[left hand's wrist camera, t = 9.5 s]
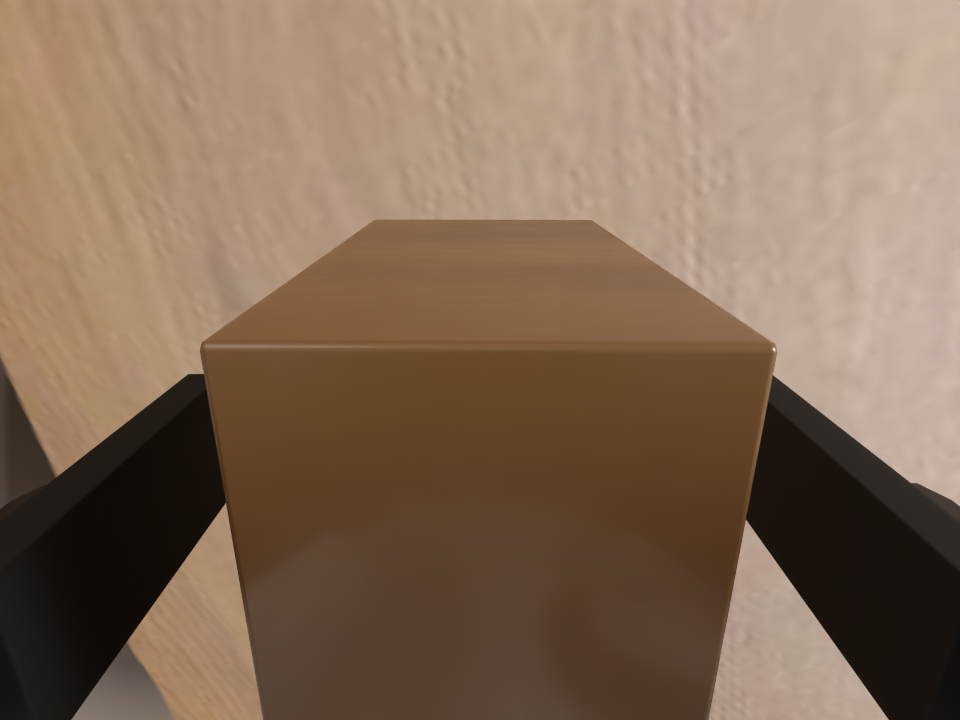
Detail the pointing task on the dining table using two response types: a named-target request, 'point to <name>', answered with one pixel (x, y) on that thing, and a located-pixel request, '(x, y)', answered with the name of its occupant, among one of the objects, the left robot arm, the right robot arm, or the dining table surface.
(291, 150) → the dining table surface
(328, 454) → the bar
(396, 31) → the dining table surface
